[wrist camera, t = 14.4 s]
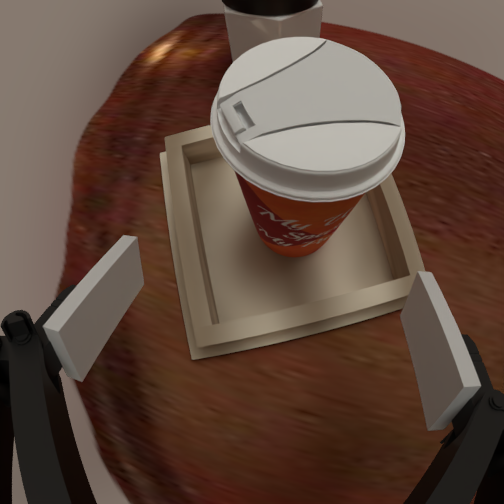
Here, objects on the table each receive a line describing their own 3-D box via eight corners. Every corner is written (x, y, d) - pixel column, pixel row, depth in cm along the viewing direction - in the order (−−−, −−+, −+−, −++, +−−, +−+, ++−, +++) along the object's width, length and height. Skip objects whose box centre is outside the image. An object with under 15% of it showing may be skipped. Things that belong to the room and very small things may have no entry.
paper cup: (267, 290, 23) (258, 225, 9) (225, 198, 25) (178, 62, 11) (364, 245, 23) (455, 143, 9) (316, 160, 25) (345, 17, 11)
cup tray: (358, 118, 27) (367, 91, 23) (423, 300, 23) (447, 294, 19) (163, 158, 27) (148, 134, 23) (195, 358, 23) (180, 363, 19)
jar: (325, 55, 29) (336, -37, 18) (302, 104, 28) (310, -1, 16) (248, 37, 31) (238, -50, 19) (216, 82, 29) (192, -15, 17)
